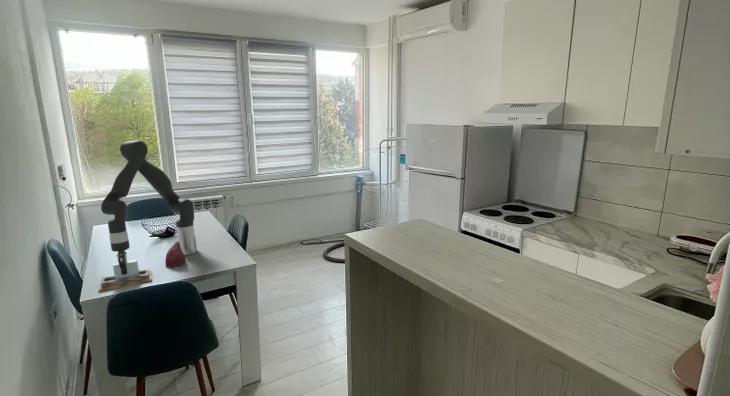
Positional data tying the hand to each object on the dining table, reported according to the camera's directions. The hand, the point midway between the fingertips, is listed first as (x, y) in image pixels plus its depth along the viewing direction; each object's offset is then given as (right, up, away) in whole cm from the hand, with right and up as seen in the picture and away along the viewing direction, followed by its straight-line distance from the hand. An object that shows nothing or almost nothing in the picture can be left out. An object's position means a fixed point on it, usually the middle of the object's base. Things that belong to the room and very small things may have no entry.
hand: (124, 272), depth 185 cm
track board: (0, -5, +1) cm, 5 cm away
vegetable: (+14, 0, +23) cm, 27 cm away
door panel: (+1, -4, +1) cm, 4 cm away
